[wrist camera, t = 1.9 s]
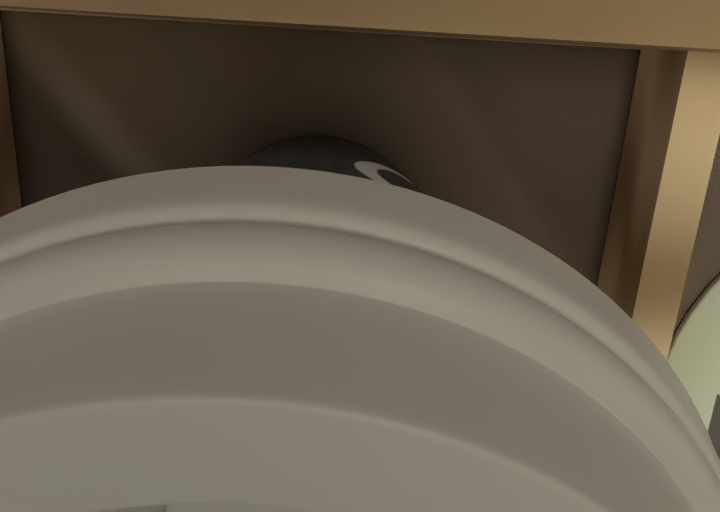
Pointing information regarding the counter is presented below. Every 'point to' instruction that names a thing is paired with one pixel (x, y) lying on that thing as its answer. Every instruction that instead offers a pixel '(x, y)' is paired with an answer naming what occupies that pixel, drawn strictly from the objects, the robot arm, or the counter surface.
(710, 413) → the coaster
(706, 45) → the shelf bay
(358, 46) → the counter surface
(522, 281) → the coffee cup
